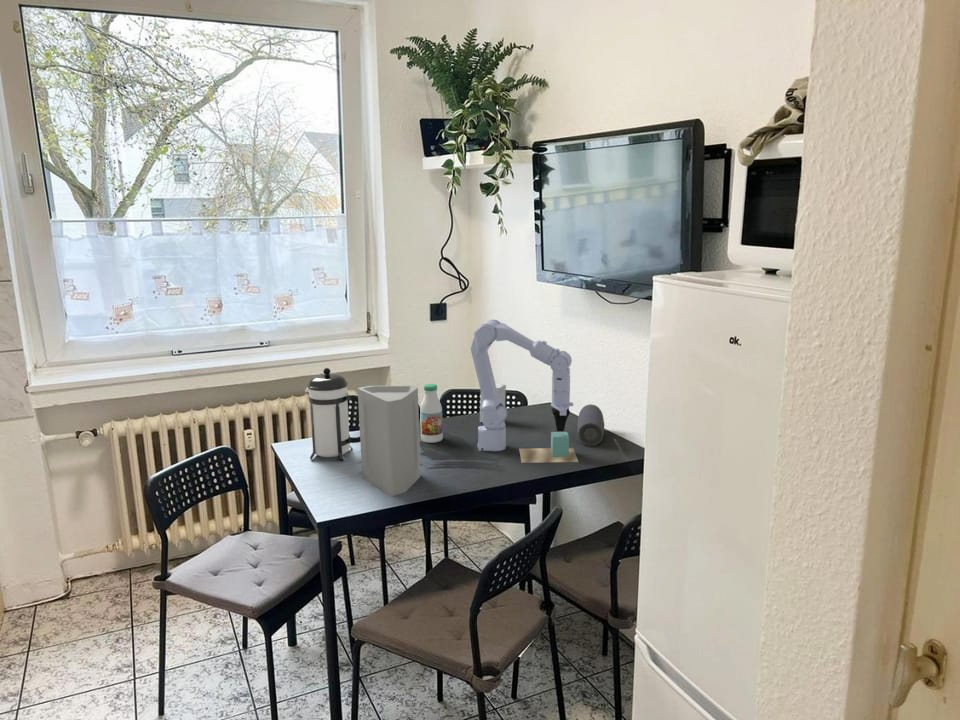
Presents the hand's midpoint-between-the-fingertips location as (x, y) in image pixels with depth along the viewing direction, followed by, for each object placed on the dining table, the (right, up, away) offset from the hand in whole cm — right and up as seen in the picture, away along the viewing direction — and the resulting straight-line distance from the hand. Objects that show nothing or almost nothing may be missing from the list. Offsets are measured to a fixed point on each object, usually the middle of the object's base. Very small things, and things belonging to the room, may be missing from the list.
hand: (560, 430), depth 227 cm
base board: (-4, -9, +1) cm, 10 cm away
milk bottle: (-43, -6, +22) cm, 48 cm away
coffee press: (-74, -9, +7) cm, 75 cm away
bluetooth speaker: (+13, -5, +21) cm, 25 cm away
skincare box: (-21, -1, +41) cm, 46 cm away
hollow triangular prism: (-51, -14, -15) cm, 55 cm away
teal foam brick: (0, -8, +2) cm, 8 cm away
